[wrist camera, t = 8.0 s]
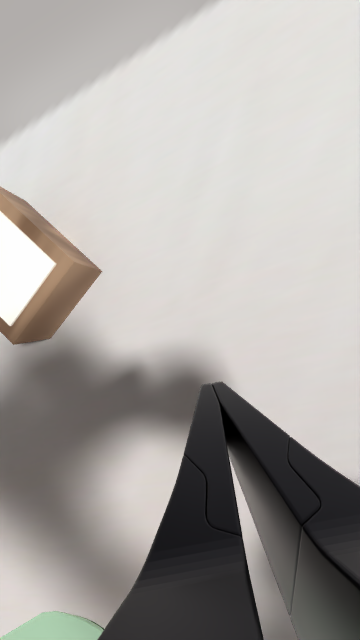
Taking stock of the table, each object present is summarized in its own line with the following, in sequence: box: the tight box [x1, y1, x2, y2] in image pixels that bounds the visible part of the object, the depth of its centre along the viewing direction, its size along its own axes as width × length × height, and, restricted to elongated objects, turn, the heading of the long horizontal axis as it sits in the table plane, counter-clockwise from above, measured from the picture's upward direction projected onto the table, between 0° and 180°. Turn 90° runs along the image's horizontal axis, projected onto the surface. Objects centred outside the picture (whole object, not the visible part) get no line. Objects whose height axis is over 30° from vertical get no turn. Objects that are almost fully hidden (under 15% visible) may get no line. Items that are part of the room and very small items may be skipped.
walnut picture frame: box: [0, 187, 102, 345], centre depth 18 cm, size 4×8×10 cm
